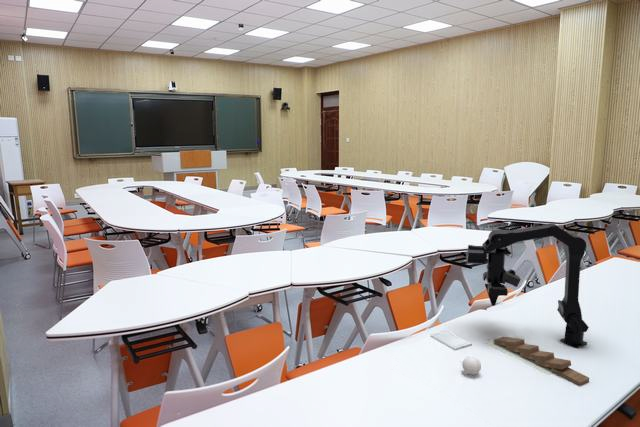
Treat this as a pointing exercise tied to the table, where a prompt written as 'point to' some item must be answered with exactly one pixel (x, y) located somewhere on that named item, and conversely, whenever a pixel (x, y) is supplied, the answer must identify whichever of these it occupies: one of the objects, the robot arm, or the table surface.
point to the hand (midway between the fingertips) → (493, 305)
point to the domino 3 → (538, 355)
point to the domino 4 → (554, 363)
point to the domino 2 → (524, 348)
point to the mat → (519, 357)
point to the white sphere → (471, 365)
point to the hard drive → (451, 340)
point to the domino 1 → (509, 341)
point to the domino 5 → (571, 376)
